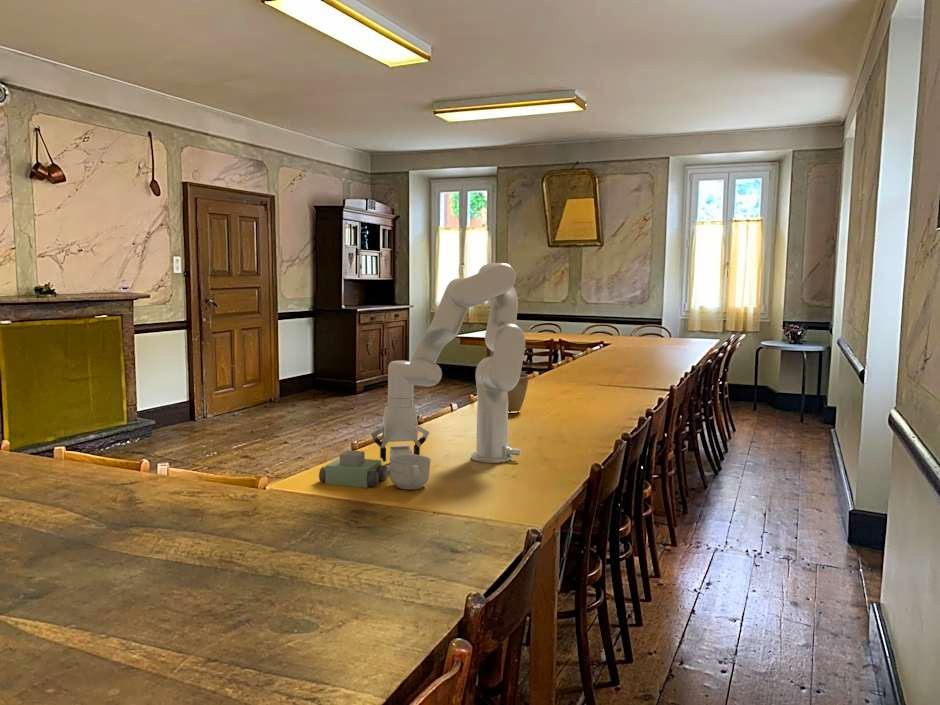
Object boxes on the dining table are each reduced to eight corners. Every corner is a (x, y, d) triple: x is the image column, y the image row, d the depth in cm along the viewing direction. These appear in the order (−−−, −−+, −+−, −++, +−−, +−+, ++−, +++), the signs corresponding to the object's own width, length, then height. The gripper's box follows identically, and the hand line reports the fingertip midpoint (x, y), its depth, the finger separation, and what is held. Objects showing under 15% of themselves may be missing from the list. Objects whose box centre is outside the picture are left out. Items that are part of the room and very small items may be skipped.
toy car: (398, 470, 207) (398, 443, 207) (373, 488, 189) (373, 458, 188) (348, 466, 211) (348, 439, 211) (319, 483, 193) (318, 454, 192)
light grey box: (407, 462, 217) (408, 444, 217) (412, 468, 211) (412, 449, 210) (389, 463, 216) (389, 445, 216) (393, 469, 209) (393, 450, 209)
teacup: (390, 481, 196) (390, 452, 196) (430, 481, 197) (430, 452, 196) (388, 496, 183) (388, 465, 182) (431, 496, 183) (431, 465, 183)
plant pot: (486, 410, 306) (487, 373, 305) (517, 408, 313) (518, 371, 311) (502, 416, 293) (503, 377, 291) (534, 414, 299) (535, 376, 298)
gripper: (427, 400, 218) (426, 455, 219) (369, 401, 213) (369, 458, 215) (432, 404, 211) (431, 461, 212) (372, 405, 206) (372, 464, 208)
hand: (399, 459), depth 214 cm, fingers open, 9 cm apart
